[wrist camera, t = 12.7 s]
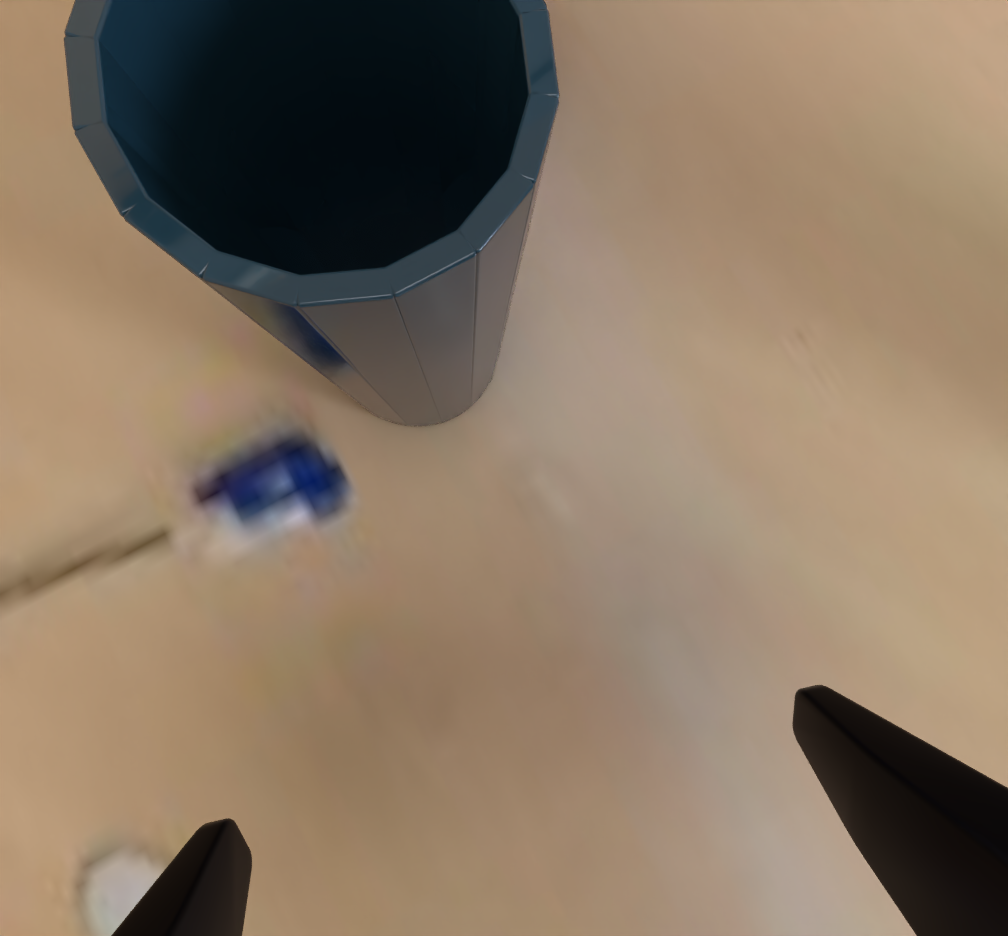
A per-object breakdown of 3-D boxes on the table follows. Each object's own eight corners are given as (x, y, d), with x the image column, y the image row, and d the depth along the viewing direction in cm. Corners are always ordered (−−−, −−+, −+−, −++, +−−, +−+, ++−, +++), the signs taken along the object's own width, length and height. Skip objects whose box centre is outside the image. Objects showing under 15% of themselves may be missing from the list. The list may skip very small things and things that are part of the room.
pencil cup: (473, 445, 19) (485, 362, 6) (314, 400, 19) (-2, 219, 6) (516, 293, 19) (609, -74, 7) (361, 246, 19) (150, -232, 6)
